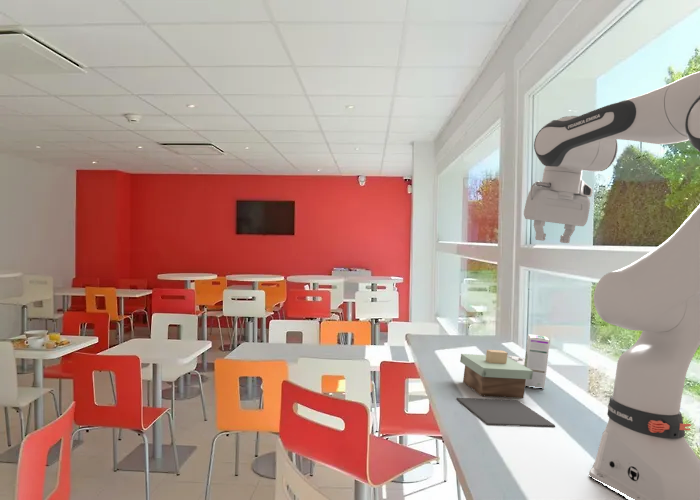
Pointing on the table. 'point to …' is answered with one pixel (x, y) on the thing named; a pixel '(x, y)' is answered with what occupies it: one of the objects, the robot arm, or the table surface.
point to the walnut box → (494, 385)
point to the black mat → (504, 412)
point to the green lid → (496, 365)
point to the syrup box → (537, 359)
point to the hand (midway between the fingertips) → (552, 241)
